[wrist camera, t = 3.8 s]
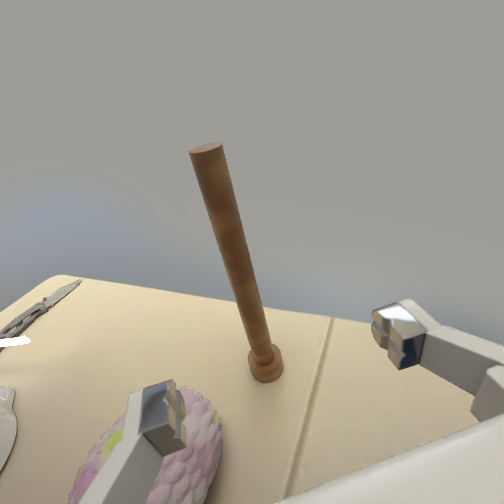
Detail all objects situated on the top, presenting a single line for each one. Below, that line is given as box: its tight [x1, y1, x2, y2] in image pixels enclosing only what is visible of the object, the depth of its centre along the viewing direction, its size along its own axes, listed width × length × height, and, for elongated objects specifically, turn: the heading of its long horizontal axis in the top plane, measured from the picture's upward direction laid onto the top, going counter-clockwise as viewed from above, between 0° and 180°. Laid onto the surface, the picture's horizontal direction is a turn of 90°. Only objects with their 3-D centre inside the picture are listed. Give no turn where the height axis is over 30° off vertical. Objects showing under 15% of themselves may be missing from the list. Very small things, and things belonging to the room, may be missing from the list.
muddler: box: [189, 142, 283, 382], centre depth 24 cm, size 4×4×24 cm
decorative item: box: [67, 386, 223, 504], centre depth 22 cm, size 9×11×10 cm
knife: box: [0, 279, 81, 351], centre depth 48 cm, size 2×18×3 cm
